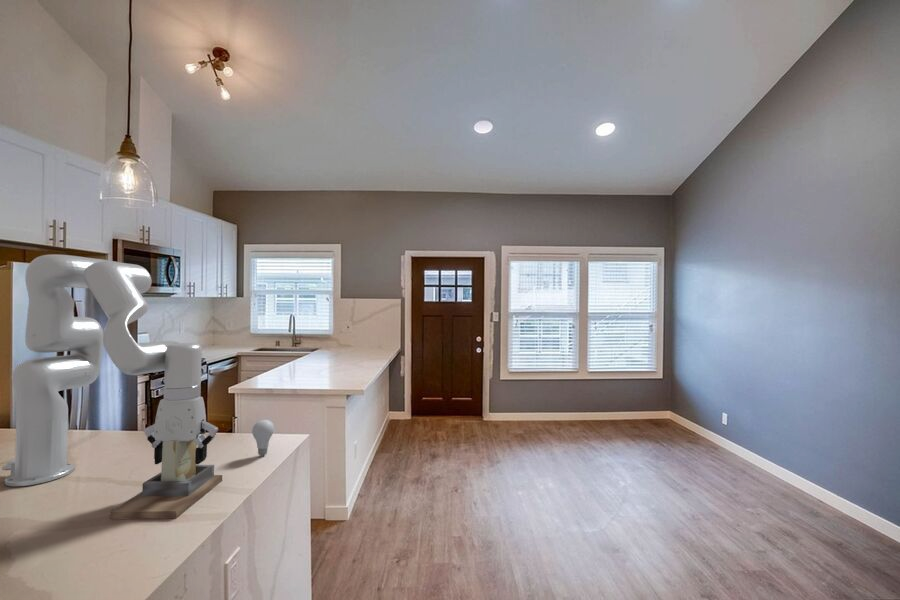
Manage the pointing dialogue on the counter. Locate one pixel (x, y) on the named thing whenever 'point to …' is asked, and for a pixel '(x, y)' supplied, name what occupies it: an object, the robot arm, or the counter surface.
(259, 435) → the lightbulb
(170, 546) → the counter surface
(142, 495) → the holder board
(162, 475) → the skincare box
